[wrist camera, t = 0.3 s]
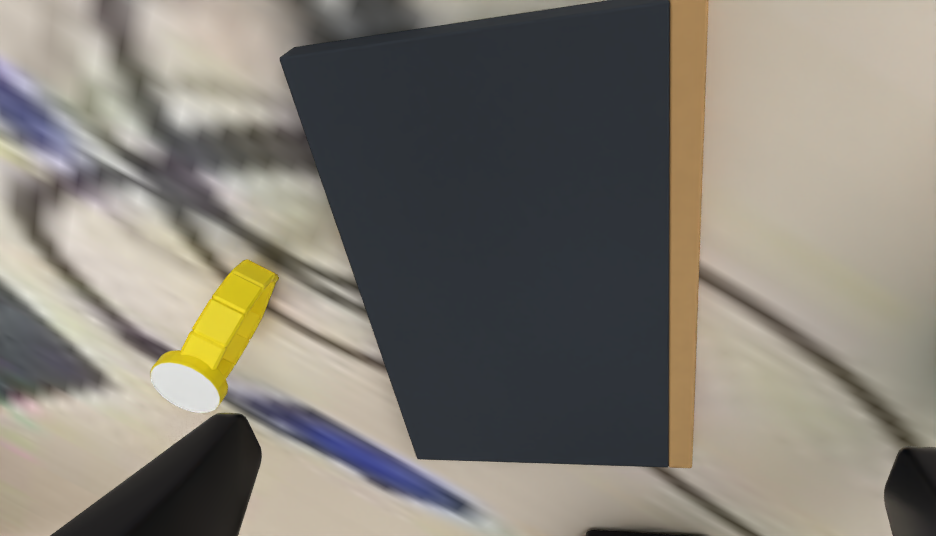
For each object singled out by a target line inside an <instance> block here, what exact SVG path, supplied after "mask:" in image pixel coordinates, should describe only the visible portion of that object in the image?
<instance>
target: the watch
mask: <svg viewBox="0 0 936 536" xmlns="http://www.w3.org/2000/svg"><path fill="white" fill-rule="evenodd" d="M278 279H279V277H278V275H277V274H275V273H273V272H271V271H269V270H267V269H265V268H263V267H261V266H259V265H257V264H255V263H254V262H252V261H250V260H248V259H247V260H244V261H242V262H241V263H240V264H239V265H238V266H237V267H235V268H234V269H233V270H232V271H231V273H229V275H228V276H227V277H226V278H225V280H224V281H223V282H222V284H221V285H220V286H219V288H218V289H217V290H216V292H215V293H214V294H213V296H212V299H210V300H209V302H208V303H207V305H206V307H205V308H204V310H203V311H202V313H201V315H200V316H199V318H198V320H197V321H196V323H195V324H194V326H193V328H192V330H193V331H191V332H190V333H189V335H188V337H187V339H186V341H185V343H184V345H183V347H182V349H181V351H179V350H177V351H169V352H167V353H165V354H163V355H162V356H161V357H160V358H159V360H158V361H157V362H156V363H155V364H154V366H153V367H152V369H151V371H150V377H151V381H152V383H153V385H154V387H155V389H156V390H157V391H158V392H159V393H160V395H161V396H163V397H164V398H165V399H166V400H168V401H169V402H170V403H172V404H174V405H176V406H178V407H179V408H182V409H185V410H188V411H191V412H197V413H207V412H210V411H213V410H215V409H216V408H217V407H218V406H219V405H220V403H221V402H222V400H223V399H224V397H225V396H226V394H227V390H228V384H227V382H226V378H227V377H228V375H229V374H230V372H231V371H232V369H233V368H234V365H236V363H237V361H238V360H239V358H240V356H241V355H242V353H243V351H244V350H245V348H246V346H247V345H248V343H249V339H251V338H252V336H253V334H254V332H255V330H256V328H257V326H258V325H259V323H260V321H261V319H262V317H263V315H264V312H265V309H266V307H267V304H268V302H269V299H270V297H271V294H272V292H273V289H274V287H275V284H276V282H277V280H278Z"/></svg>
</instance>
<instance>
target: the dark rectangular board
mask: <svg viewBox="0 0 936 536" xmlns="http://www.w3.org/2000/svg"><path fill="white" fill-rule="evenodd" d="M707 27H708V0H608V1H602V2H595V3H588V4H582V5H575V6H568V7H562V8H555V9H548V10H541V11H535V12H528V13H521V14H515V15H508V16H501V17H494V18H488V19H481V20H474V21H468V22H461V23H454V24H448V25H441V26H434V27H427V28H421V29H414V30H407V31H401V32H394V33H387V34H381V35H374V36H367V37H360V38H354V39H347V40H340V41H334V42H327V43H320V44H313V45H307V46H300V47H294V48H293V49H291V50H290V51H288V52H287V53H286V54H284V55H283V56H281V57H280V62H281V65H282V68H283V71H284V74H285V77H286V80H287V83H288V86H289V88H290V91H291V94H292V97H293V100H294V103H295V106H296V109H297V112H298V114H299V117H300V120H301V123H302V126H303V129H304V132H305V135H306V138H307V141H308V143H309V146H310V149H311V152H312V155H313V158H314V161H315V164H316V167H317V170H318V172H319V175H320V178H321V181H322V184H323V187H324V190H325V193H326V196H327V199H328V201H329V204H330V207H331V210H332V213H333V216H334V219H335V222H336V225H337V227H338V230H339V233H340V236H341V239H342V242H343V245H344V248H345V251H346V254H347V256H348V259H349V262H350V265H351V268H352V271H353V274H354V277H355V280H356V283H357V285H358V288H359V291H360V294H361V297H362V300H363V303H364V306H365V309H366V311H367V314H368V317H369V320H370V323H371V326H372V329H373V332H374V335H375V338H376V340H377V343H378V346H379V349H380V352H381V355H382V358H383V361H384V364H385V367H386V369H387V372H388V375H389V378H390V381H391V384H392V387H393V390H394V393H395V396H396V398H397V401H398V404H399V407H400V410H401V413H402V416H403V419H404V422H405V424H406V427H407V430H408V433H409V436H410V439H411V442H412V445H413V448H414V451H415V453H416V456H417V459H427V460H458V461H488V462H519V463H550V464H581V465H611V466H642V467H668V466H669V467H672V468H691V467H692V454H693V425H694V397H695V369H696V340H697V312H698V283H699V255H700V226H701V198H702V169H703V141H704V112H705V84H706V55H707Z"/></svg>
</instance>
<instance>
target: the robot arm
mask: <svg viewBox="0 0 936 536" xmlns="http://www.w3.org/2000/svg"><path fill="white" fill-rule="evenodd" d="M261 458H262V453H261V447H260V445H259V443H258V441H257V439H256V437H255V435H254V432H253V430H252V428H251V426H250V424H249V422H248V420H247V419H246V417H245V416H243V415H242V414H238V413H218V414H215V415H214V416H212V417H210V418H209V419H208V420H206V421H205V422H204V423H202V424H201V425H200V426H198V427H197V428H196V429H194V430H193V431H191V432H190V433H189V434H187V435H186V436H185V437H183V438H182V439H181V440H179V441H178V442H177V443H175V444H174V445H173V446H171V447H170V448H168V449H167V450H166V451H164V452H163V453H162V454H160V455H159V456H158V457H156V458H155V459H154V460H152V461H151V462H149V463H148V464H147V465H145V466H144V467H143V468H141V469H140V470H139V471H137V472H136V473H135V474H133V475H132V476H131V477H129V478H128V479H126V480H125V481H124V482H122V483H121V484H120V485H118V486H117V487H116V488H114V489H113V490H112V491H110V492H109V493H107V494H106V495H105V496H103V497H102V498H101V499H99V500H98V501H97V502H95V503H94V504H93V505H91V506H90V507H89V508H87V509H86V510H84V511H83V512H82V513H80V514H79V515H78V516H76V517H75V518H74V519H72V520H71V521H70V522H68V523H67V524H65V525H64V526H63V527H61V528H60V529H59V530H57V531H56V532H55V533H53V534H52V535H51V536H238V534H239V531H240V528H241V524H242V521H243V518H244V515H245V512H246V508H247V505H248V502H249V499H250V496H251V493H252V489H253V486H254V483H255V480H256V477H257V474H258V470H259V467H260V464H261ZM884 501H885V507H886V511H887V515H888V519H889V523H890V527H891V530H892V534H893V536H936V448H935V447H918V446H905V447H903V448H902V449H900V450H899V452H898V454H897V456H896V459H895V462H894V464H893V467H892V469H891V472H890V475H889V477H888V480H887V482H886V485H885V490H884ZM585 536H686V535H669V534H652V533H635V532H617V531H600V530H590V531H588V532H586V535H585Z"/></svg>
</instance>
